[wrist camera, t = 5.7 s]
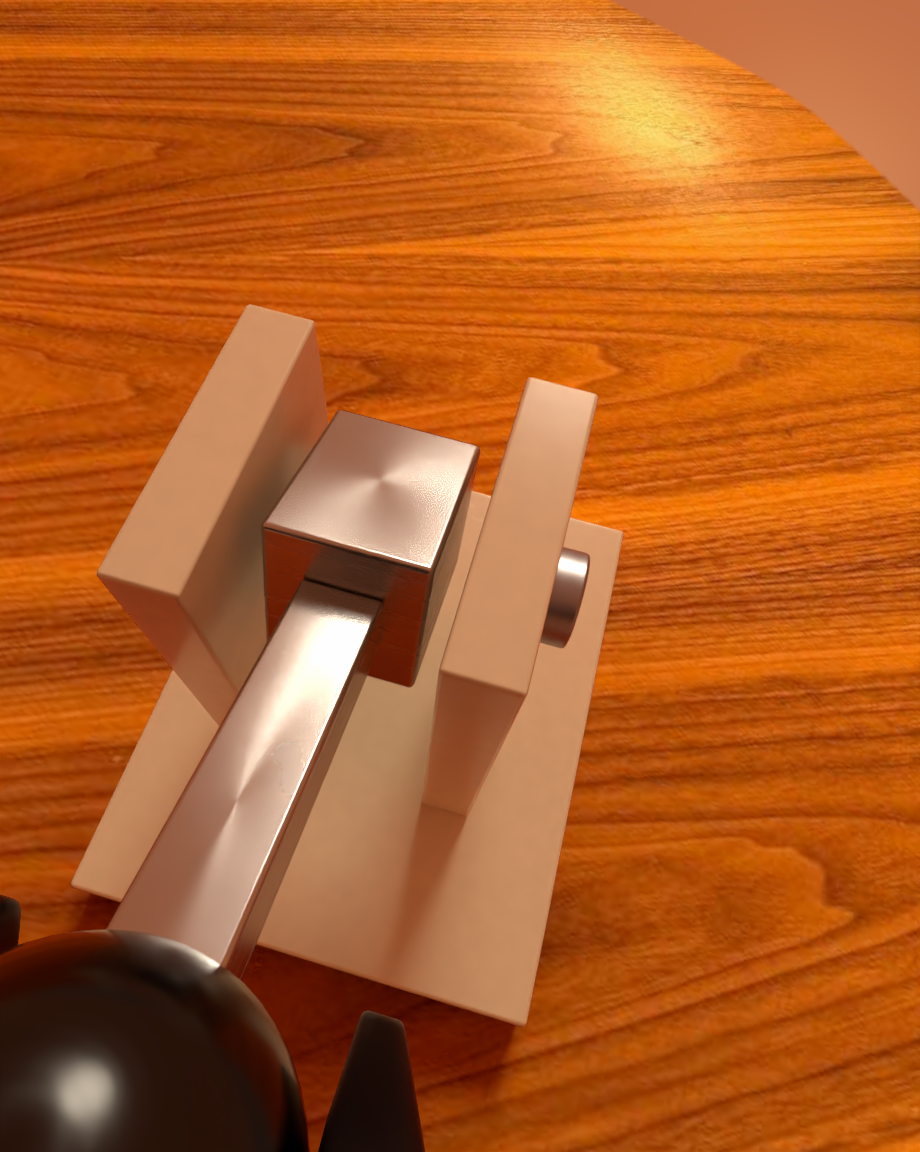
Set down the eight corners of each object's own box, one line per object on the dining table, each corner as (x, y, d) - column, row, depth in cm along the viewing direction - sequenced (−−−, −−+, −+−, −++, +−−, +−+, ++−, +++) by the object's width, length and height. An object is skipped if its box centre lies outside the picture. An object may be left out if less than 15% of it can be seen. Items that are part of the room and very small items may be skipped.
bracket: (517, 1023, 15) (666, 1116, 6) (90, 890, 15) (-279, 819, 7) (612, 553, 20) (767, 264, 11) (287, 465, 20) (208, 127, 12)
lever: (197, 1628, 5) (105, 1903, 3) (-264, 1461, 6) (-728, 1572, 3) (491, 597, 13) (538, 422, 10) (293, 542, 13) (292, 358, 11)
